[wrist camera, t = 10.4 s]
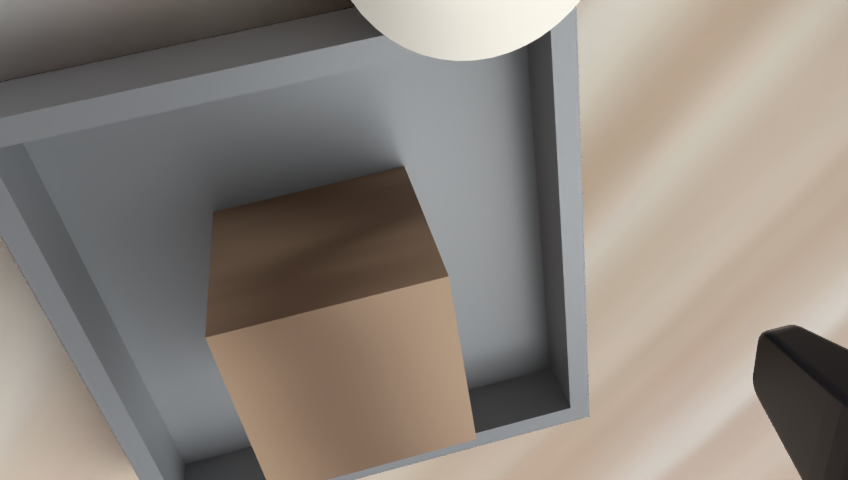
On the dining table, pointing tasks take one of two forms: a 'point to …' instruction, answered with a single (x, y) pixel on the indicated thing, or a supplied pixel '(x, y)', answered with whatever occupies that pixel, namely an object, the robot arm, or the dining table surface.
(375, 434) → the walnut block
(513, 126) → the gray tray
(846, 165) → the dining table surface
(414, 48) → the ivory round canister
